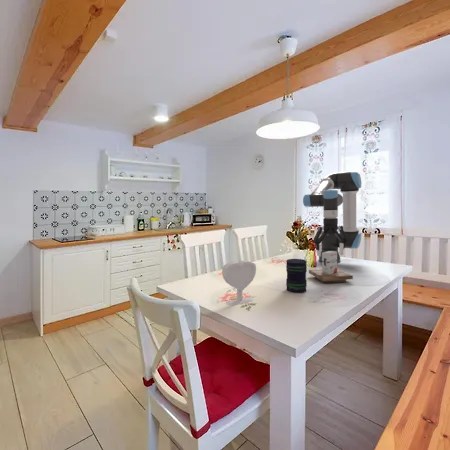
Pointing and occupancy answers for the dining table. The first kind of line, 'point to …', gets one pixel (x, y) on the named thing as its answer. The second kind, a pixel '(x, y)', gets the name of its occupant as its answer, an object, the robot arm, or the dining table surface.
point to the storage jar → (296, 275)
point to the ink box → (329, 262)
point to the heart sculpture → (239, 278)
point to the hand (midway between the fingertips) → (330, 255)
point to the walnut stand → (331, 276)
